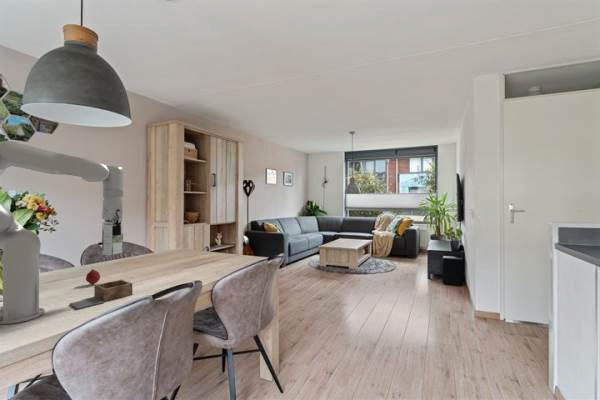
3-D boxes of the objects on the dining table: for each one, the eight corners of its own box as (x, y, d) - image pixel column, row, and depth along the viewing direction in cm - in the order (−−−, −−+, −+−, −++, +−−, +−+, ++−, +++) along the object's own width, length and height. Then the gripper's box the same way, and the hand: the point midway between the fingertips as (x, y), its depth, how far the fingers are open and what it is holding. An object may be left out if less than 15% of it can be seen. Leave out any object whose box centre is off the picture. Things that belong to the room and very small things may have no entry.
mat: (77, 309, 113) (77, 308, 113) (69, 304, 119) (69, 303, 119) (103, 303, 121) (103, 301, 121) (95, 298, 126) (95, 297, 126)
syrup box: (113, 253, 134) (113, 220, 134) (123, 253, 132) (123, 221, 132) (101, 255, 128) (101, 221, 128) (112, 255, 126) (112, 221, 127)
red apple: (102, 282, 151) (102, 267, 151) (96, 286, 145) (96, 269, 145) (89, 283, 150) (89, 267, 150) (83, 286, 144) (83, 270, 144)
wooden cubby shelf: (104, 301, 123) (104, 289, 123) (94, 296, 129) (94, 285, 129) (132, 294, 131) (132, 283, 131) (121, 290, 138) (121, 279, 138)
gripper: (95, 194, 132) (95, 234, 132) (111, 193, 122) (111, 236, 122) (114, 194, 138) (114, 232, 138) (131, 194, 128) (130, 235, 128)
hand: (112, 234), depth 130 cm, fingers closed on syrup box, 7 cm apart
